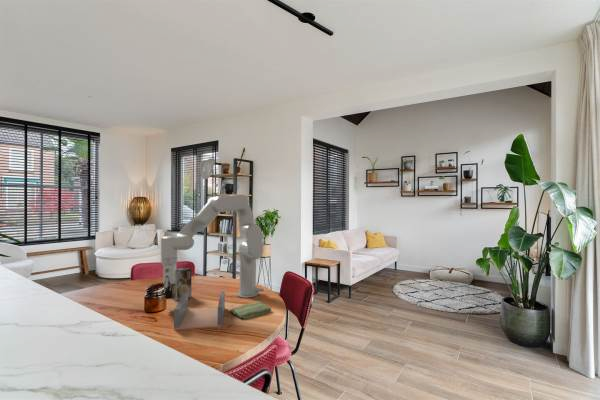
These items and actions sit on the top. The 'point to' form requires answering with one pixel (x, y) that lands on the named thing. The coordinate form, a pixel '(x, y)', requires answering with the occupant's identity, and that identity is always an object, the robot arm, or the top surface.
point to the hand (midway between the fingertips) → (169, 295)
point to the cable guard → (198, 315)
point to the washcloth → (250, 310)
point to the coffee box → (183, 283)
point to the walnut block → (173, 288)
